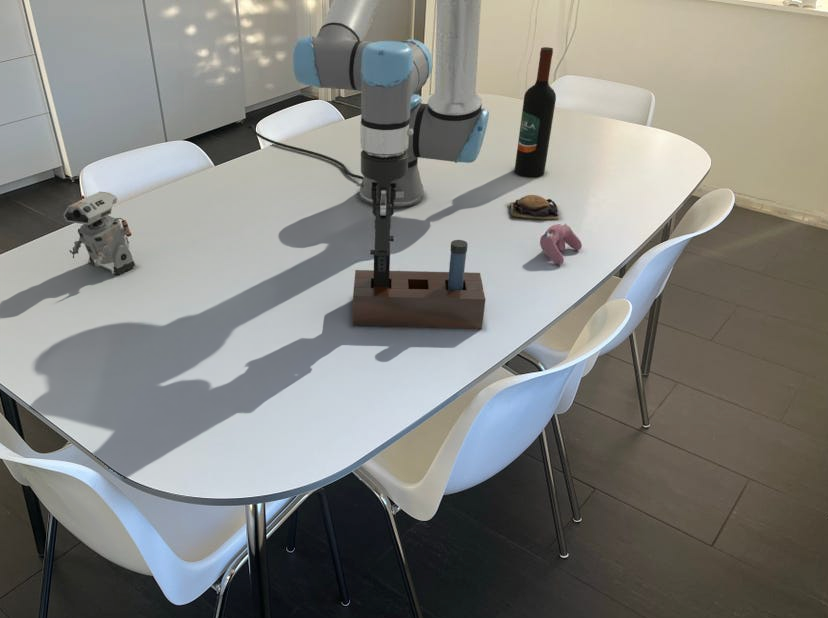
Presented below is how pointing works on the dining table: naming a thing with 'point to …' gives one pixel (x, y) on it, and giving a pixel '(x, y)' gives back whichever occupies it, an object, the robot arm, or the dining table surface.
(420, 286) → the rack
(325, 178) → the dining table surface
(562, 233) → the video game controller
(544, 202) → the bread roll
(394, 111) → the robot arm
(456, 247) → the smoke-blue tube
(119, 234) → the figurine
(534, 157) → the wine bottle
